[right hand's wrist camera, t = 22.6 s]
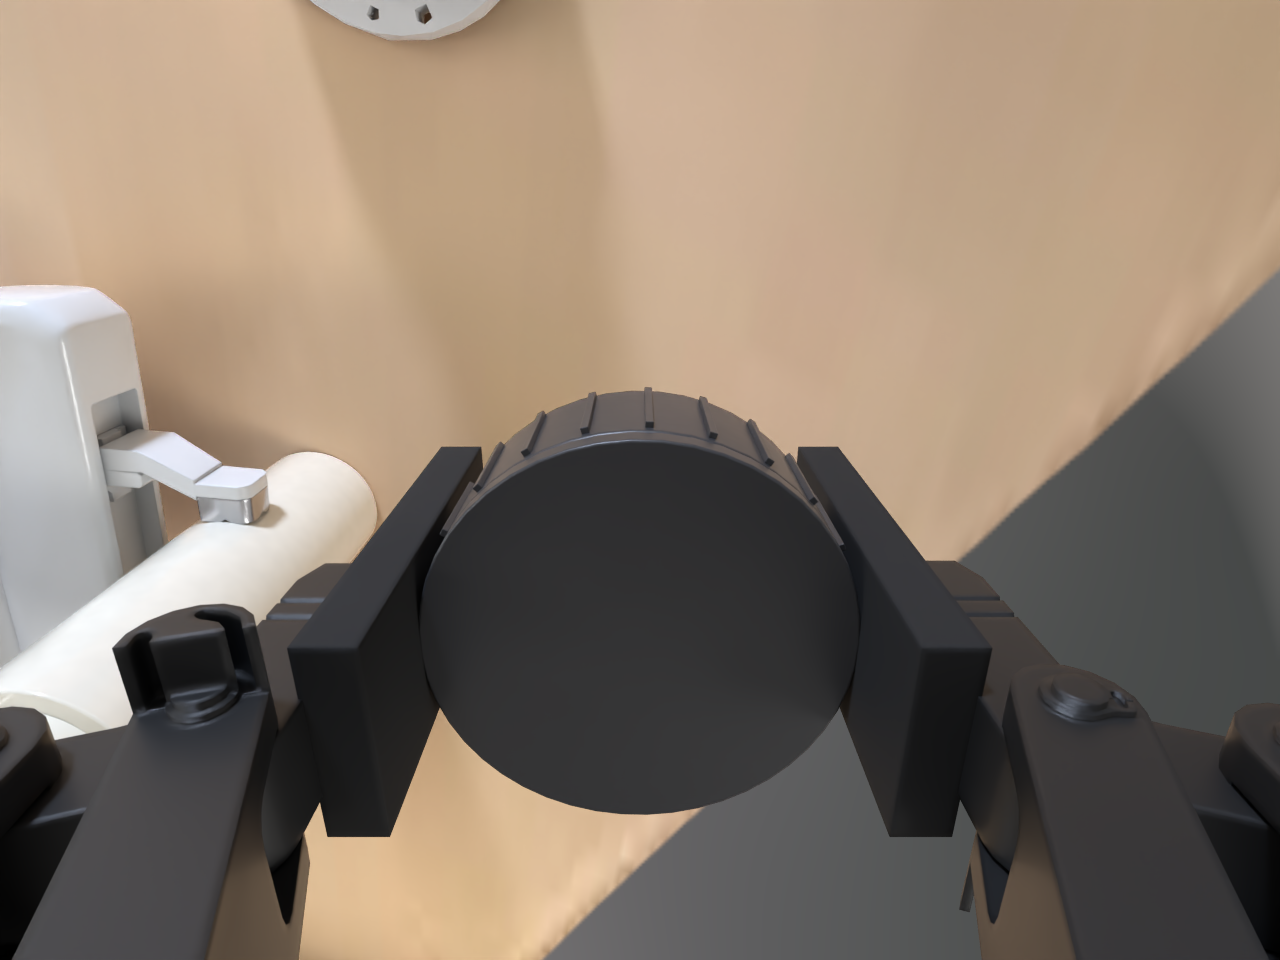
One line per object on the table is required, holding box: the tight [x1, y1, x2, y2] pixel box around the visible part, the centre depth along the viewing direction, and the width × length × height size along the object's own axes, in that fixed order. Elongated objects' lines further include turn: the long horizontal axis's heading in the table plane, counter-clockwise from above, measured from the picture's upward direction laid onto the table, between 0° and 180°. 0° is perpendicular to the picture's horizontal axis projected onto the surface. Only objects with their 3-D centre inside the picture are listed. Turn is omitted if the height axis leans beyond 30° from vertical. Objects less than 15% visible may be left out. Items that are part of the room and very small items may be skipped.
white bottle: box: [0, 452, 377, 740], centre depth 25 cm, size 5×5×19 cm
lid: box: [419, 387, 861, 815], centre depth 11 cm, size 6×6×2 cm
